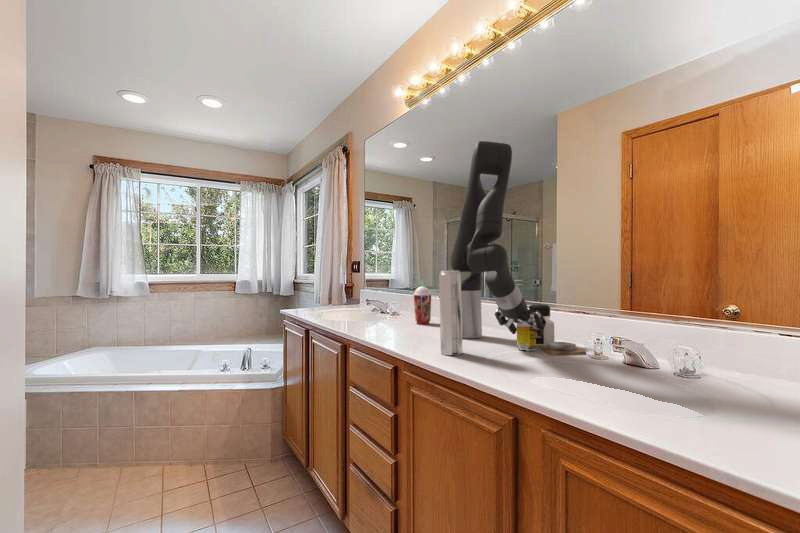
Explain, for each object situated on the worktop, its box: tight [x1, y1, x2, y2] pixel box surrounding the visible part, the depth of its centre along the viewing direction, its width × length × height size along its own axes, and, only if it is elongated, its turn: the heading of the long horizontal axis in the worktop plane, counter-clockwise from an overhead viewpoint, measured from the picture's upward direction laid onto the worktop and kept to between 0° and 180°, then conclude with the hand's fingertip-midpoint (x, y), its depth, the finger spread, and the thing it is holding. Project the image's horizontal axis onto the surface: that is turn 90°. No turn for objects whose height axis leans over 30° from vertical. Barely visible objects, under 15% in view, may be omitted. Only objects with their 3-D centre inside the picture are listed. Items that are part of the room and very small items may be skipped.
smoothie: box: [413, 279, 432, 326], centre depth 180 cm, size 8×8×20 cm
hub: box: [537, 341, 587, 356], centre depth 117 cm, size 10×10×2 cm
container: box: [528, 303, 556, 347], centre depth 129 cm, size 8×8×13 cm
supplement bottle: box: [516, 318, 537, 352], centre depth 120 cm, size 6×6×10 cm
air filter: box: [438, 270, 464, 356], centre depth 117 cm, size 6×6×25 cm
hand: (527, 333), depth 121 cm, fingers open, 8 cm apart
